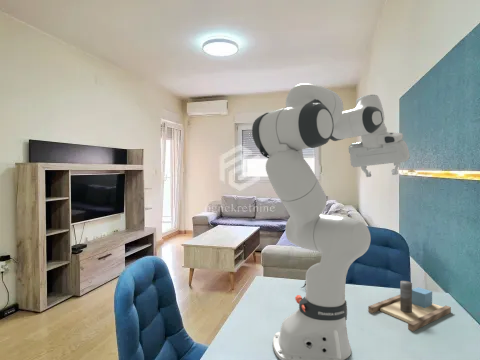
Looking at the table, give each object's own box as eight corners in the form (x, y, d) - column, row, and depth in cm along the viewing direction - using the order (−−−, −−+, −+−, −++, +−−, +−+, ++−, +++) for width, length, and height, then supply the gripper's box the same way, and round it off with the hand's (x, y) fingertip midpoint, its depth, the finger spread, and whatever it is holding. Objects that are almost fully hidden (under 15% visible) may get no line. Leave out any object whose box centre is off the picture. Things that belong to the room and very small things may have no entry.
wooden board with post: (413, 325, 97) (413, 291, 97) (380, 310, 108) (380, 280, 107) (444, 310, 107) (444, 280, 107) (411, 298, 118) (411, 271, 118)
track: (413, 334, 94) (413, 325, 94) (368, 313, 107) (368, 306, 107) (450, 314, 106) (450, 307, 106) (406, 299, 120) (406, 292, 119)
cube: (424, 308, 107) (424, 294, 107) (411, 303, 111) (410, 289, 111) (432, 304, 110) (432, 291, 110) (418, 300, 114) (418, 287, 114)
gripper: (344, 145, 114) (351, 180, 116) (402, 136, 100) (409, 175, 102) (350, 142, 119) (357, 175, 121) (407, 132, 104) (413, 170, 106)
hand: (381, 175), depth 111 cm, fingers open, 8 cm apart
